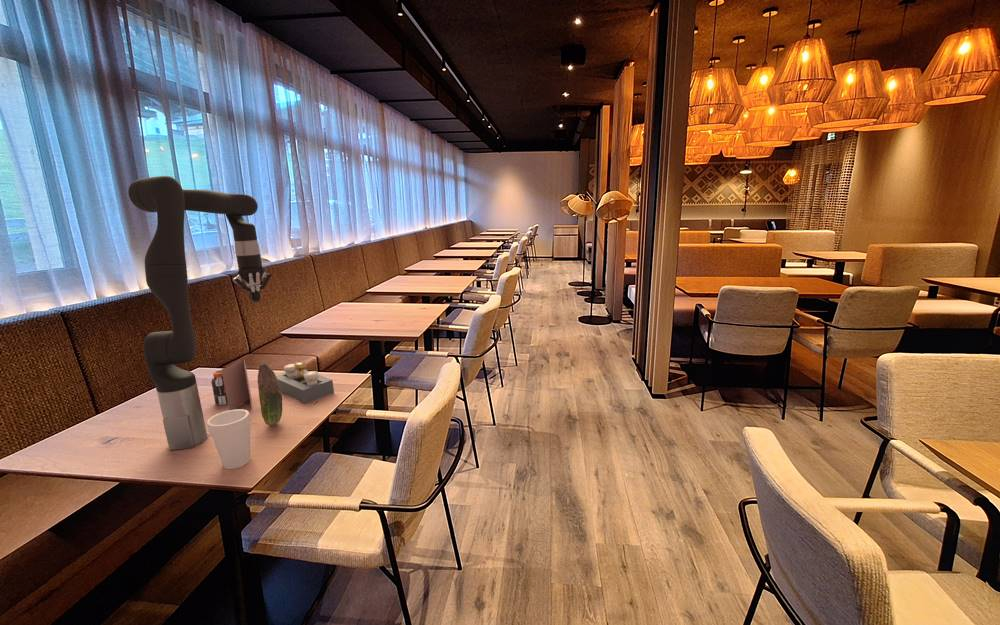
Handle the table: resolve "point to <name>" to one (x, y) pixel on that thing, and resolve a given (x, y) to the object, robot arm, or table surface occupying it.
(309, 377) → the near cream knob
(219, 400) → the pill bottle
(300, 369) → the gold tall rounded piece
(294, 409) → the table surface
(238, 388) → the greeting card
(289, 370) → the far cream knob
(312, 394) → the mount
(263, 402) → the vegetable
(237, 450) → the foam cup
